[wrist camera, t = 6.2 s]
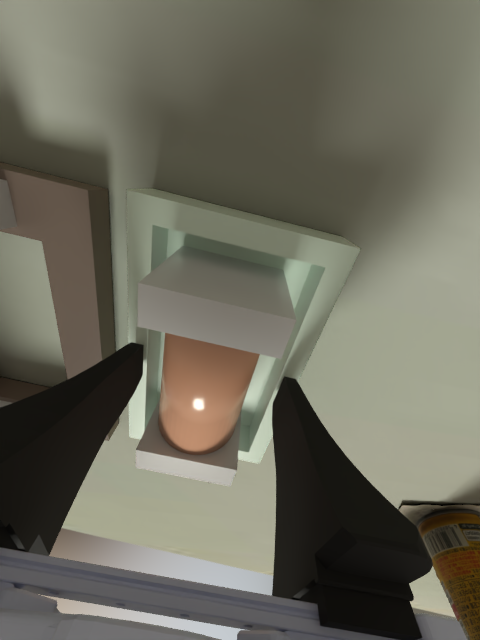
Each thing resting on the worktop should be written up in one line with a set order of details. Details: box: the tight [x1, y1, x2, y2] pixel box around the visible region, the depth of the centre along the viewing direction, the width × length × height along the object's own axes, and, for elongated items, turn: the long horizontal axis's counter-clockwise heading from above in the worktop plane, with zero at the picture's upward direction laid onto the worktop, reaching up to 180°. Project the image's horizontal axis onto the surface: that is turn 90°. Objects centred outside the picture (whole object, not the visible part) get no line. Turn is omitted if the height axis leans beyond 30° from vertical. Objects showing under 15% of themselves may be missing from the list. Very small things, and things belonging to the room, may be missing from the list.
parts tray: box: [126, 188, 361, 464], centre depth 14 cm, size 15×9×2 cm, turn 167°
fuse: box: [136, 246, 296, 486], centre depth 12 cm, size 10×5×5 cm, turn 167°
